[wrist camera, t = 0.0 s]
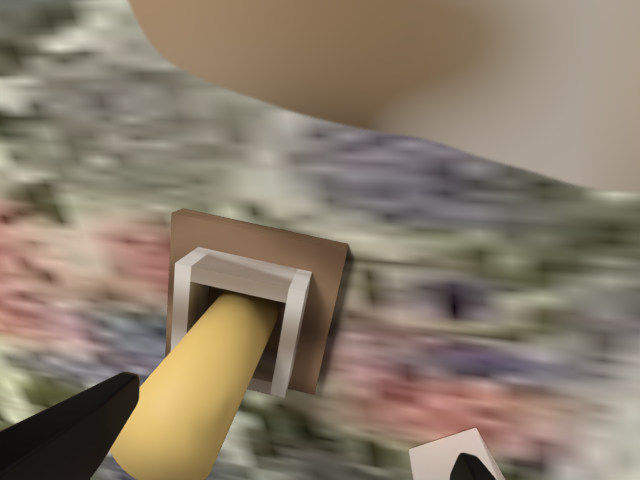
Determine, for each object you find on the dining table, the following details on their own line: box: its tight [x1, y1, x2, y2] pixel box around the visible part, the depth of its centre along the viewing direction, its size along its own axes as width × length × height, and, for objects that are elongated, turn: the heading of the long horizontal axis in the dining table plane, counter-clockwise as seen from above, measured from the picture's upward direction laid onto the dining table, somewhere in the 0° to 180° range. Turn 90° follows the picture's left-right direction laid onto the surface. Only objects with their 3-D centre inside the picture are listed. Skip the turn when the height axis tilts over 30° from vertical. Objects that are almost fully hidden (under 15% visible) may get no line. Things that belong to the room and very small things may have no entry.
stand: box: [165, 209, 348, 398], centre depth 23 cm, size 12×12×4 cm
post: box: [110, 289, 278, 480], centre depth 18 cm, size 4×4×11 cm
